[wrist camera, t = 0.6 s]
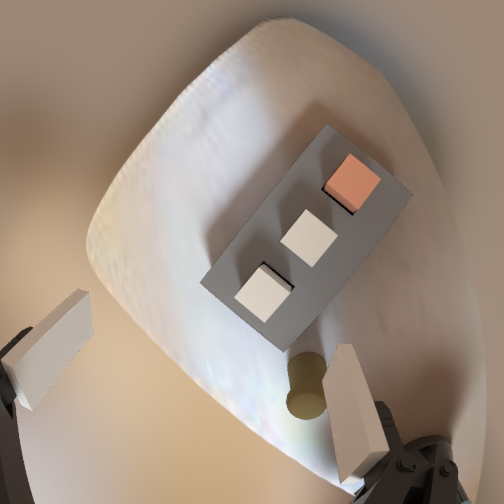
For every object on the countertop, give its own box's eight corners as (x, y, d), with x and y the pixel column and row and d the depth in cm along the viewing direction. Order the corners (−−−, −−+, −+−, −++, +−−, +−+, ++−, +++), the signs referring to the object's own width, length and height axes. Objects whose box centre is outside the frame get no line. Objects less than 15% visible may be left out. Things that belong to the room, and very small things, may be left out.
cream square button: (291, 287, 35) (290, 293, 31) (268, 313, 36) (264, 322, 32) (263, 263, 35) (258, 267, 31) (241, 290, 36) (234, 297, 32)
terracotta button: (372, 185, 32) (381, 179, 29) (352, 212, 33) (358, 209, 29) (345, 162, 33) (349, 153, 29) (323, 189, 34) (326, 183, 30)
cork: (303, 392, 41) (301, 433, 30) (279, 366, 42) (271, 404, 31) (334, 371, 40) (341, 409, 30) (311, 344, 41) (312, 378, 30)
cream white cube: (333, 235, 34) (337, 235, 30) (310, 264, 34) (311, 267, 30) (305, 212, 34) (305, 209, 30) (282, 240, 35) (279, 241, 31)
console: (398, 199, 37) (413, 194, 32) (286, 337, 41) (283, 352, 35) (323, 138, 39) (326, 123, 33) (213, 276, 43) (199, 282, 37)
